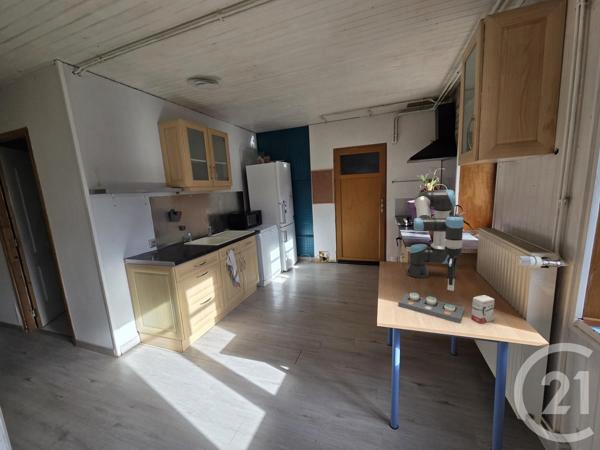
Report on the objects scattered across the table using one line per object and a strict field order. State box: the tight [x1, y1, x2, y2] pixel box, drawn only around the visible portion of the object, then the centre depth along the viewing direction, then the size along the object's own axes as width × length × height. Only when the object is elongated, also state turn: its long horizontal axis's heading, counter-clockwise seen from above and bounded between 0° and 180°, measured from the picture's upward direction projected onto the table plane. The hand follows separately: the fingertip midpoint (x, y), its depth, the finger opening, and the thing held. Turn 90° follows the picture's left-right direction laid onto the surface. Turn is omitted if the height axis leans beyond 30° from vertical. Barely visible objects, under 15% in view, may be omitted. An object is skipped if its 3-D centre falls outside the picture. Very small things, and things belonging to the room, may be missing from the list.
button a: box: [409, 292, 420, 302], centre depth 142 cm, size 5×5×4 cm
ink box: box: [471, 294, 495, 324], centre depth 121 cm, size 9×5×12 cm, turn 106°
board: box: [397, 293, 465, 324], centre depth 135 cm, size 14×30×3 cm, turn 49°
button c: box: [444, 303, 456, 312], centre depth 130 cm, size 5×5×4 cm
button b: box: [426, 295, 437, 307], centre depth 136 cm, size 5×5×4 cm
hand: (450, 289), depth 129 cm, fingers closed
